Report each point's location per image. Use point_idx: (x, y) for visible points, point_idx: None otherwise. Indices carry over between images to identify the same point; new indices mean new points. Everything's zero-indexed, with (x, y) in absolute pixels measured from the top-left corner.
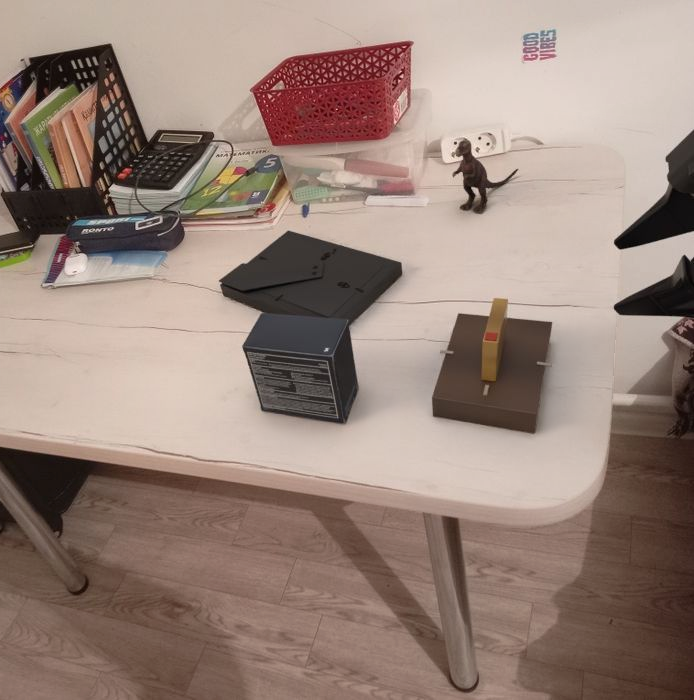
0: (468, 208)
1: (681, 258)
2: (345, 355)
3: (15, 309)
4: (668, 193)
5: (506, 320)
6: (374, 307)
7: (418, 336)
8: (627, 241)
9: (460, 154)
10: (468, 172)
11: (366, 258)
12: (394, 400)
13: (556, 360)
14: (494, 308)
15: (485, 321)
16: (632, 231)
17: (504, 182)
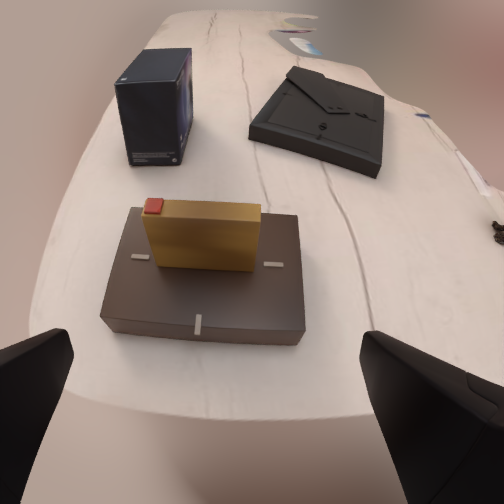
0: (495, 228)
1: None
2: (148, 107)
3: (247, 27)
4: None
5: (250, 248)
6: (312, 161)
7: (273, 200)
8: (372, 365)
9: None
10: None
11: (373, 140)
12: (162, 194)
13: (257, 356)
14: (230, 205)
15: (286, 246)
16: (392, 361)
17: None
